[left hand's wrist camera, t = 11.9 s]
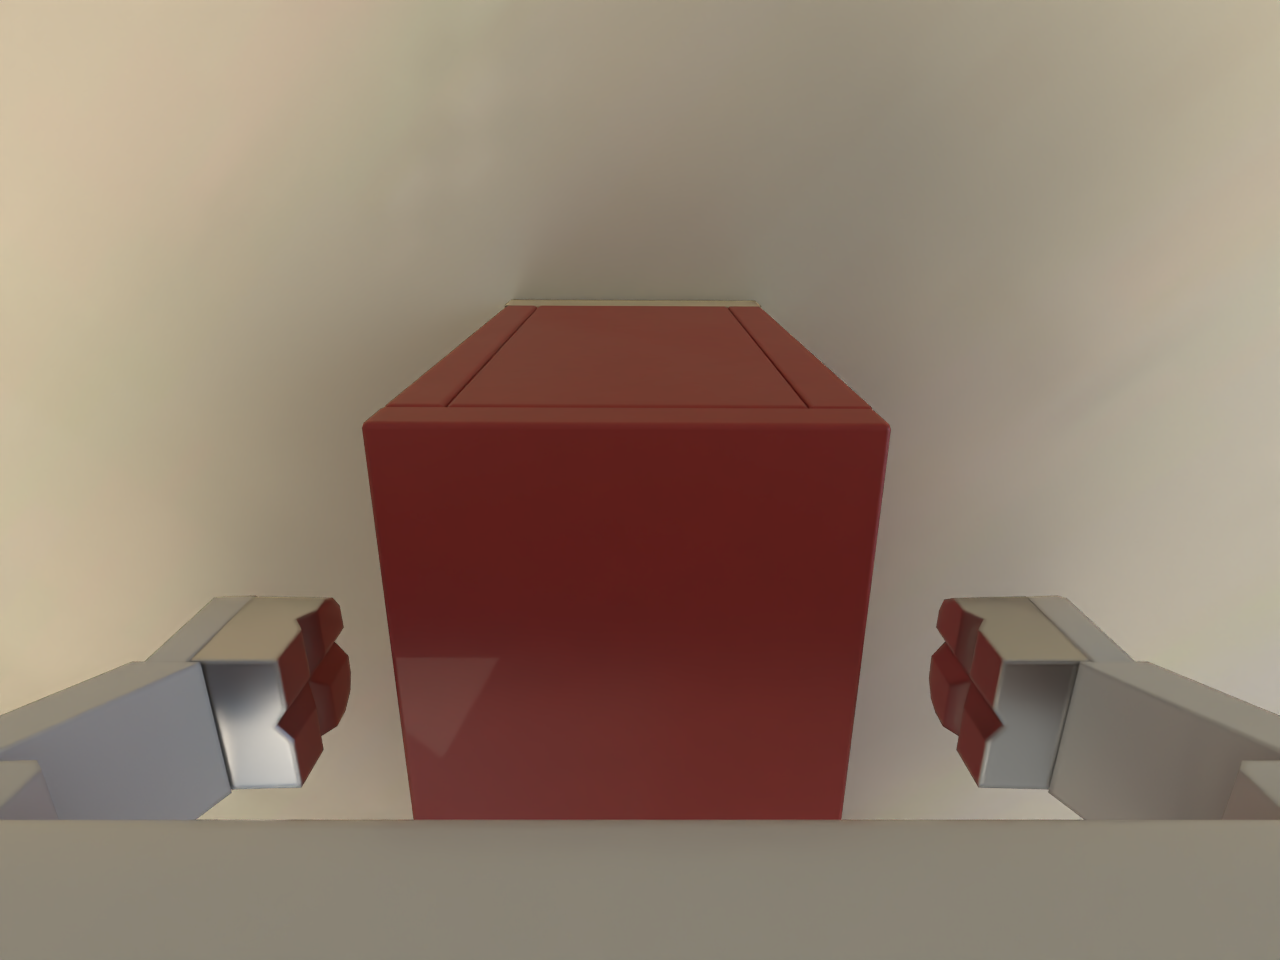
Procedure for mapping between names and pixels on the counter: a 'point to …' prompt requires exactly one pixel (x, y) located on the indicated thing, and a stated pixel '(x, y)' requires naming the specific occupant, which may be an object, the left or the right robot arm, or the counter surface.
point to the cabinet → (627, 565)
